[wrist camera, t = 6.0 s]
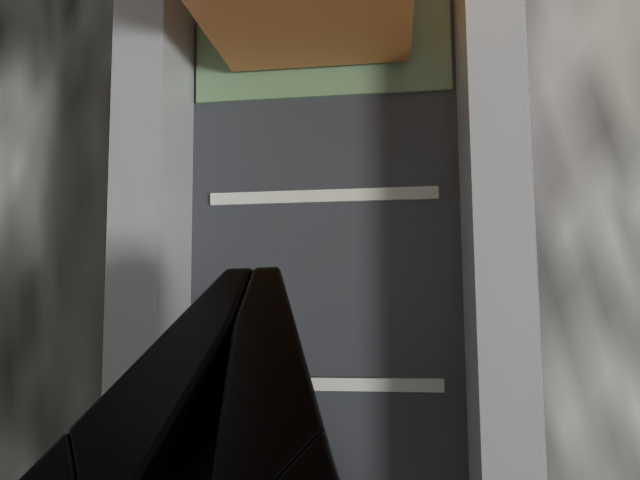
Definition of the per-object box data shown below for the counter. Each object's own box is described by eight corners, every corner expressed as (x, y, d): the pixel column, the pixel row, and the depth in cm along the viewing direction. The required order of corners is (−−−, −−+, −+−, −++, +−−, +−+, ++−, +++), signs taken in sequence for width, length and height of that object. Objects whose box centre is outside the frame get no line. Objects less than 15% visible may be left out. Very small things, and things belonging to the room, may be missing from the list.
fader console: (513, 638, 14) (560, 772, 10) (169, 615, 15) (91, 727, 11) (485, -74, 16) (516, -196, 12) (181, -47, 17) (118, -151, 13)
